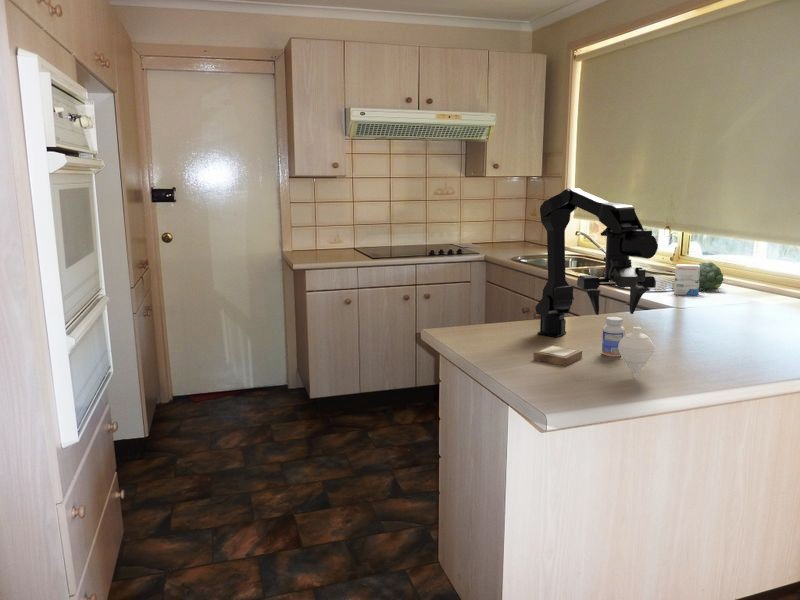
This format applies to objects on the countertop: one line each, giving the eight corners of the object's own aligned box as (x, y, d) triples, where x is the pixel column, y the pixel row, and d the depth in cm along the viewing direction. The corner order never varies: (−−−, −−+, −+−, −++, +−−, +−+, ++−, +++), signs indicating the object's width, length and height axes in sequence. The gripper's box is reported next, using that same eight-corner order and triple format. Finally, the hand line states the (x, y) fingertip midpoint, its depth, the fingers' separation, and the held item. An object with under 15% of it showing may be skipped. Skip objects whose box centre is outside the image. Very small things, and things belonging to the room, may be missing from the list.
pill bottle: (606, 350, 167) (608, 315, 165) (626, 353, 164) (628, 317, 162) (598, 354, 163) (600, 318, 161) (618, 358, 160) (620, 321, 158)
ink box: (698, 294, 246) (701, 264, 243) (697, 296, 242) (699, 266, 239) (675, 292, 250) (677, 263, 248) (673, 294, 246) (675, 264, 244)
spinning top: (610, 377, 144) (613, 327, 142) (626, 370, 149) (628, 322, 147) (642, 385, 139) (646, 332, 136) (657, 377, 144) (660, 326, 142)
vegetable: (737, 285, 251) (719, 272, 243) (710, 304, 257) (691, 292, 249) (722, 265, 259) (704, 251, 251) (696, 284, 265) (677, 271, 257)
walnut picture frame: (533, 359, 159) (533, 351, 159) (550, 352, 166) (550, 344, 166) (565, 366, 154) (565, 357, 153) (581, 358, 160) (582, 350, 160)
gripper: (593, 259, 150) (590, 322, 153) (668, 257, 151) (663, 320, 154) (577, 254, 161) (575, 312, 164) (647, 252, 162) (644, 310, 165)
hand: (614, 314), depth 162 cm, fingers open, 9 cm apart
